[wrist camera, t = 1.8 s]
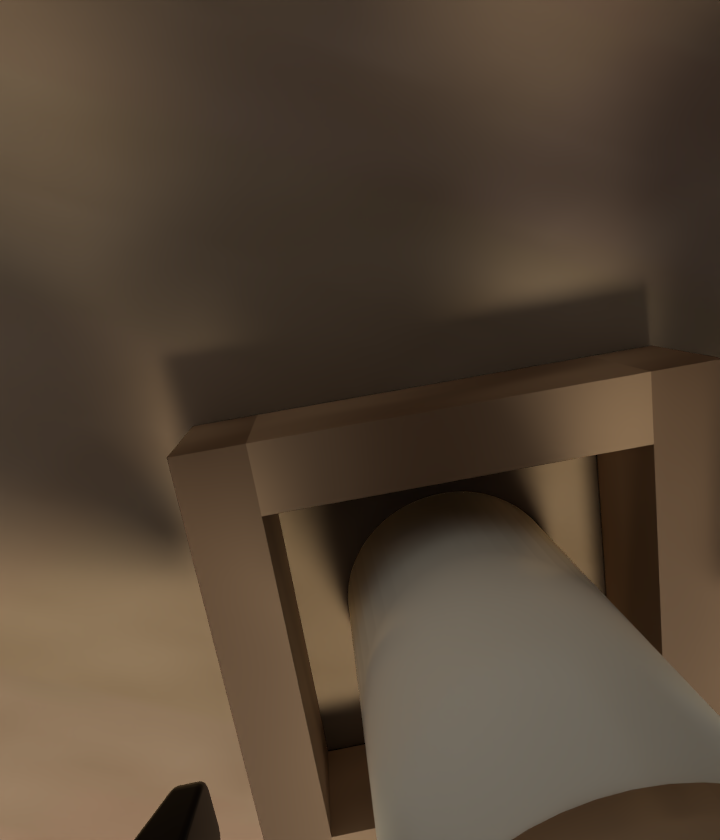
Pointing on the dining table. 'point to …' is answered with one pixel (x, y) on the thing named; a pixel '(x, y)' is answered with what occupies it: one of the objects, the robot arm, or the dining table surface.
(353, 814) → the pocket frame
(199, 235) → the dining table surface
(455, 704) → the jar
